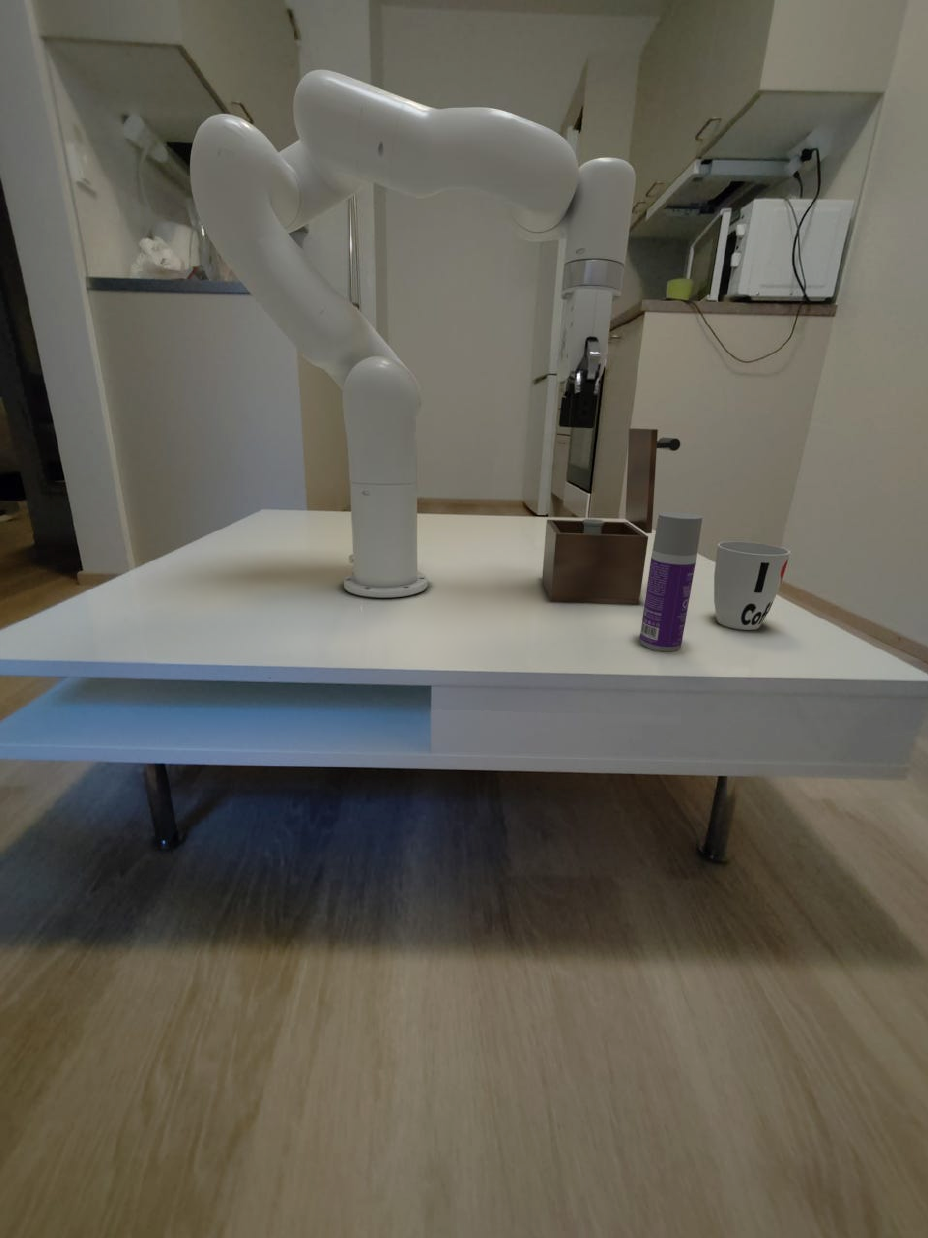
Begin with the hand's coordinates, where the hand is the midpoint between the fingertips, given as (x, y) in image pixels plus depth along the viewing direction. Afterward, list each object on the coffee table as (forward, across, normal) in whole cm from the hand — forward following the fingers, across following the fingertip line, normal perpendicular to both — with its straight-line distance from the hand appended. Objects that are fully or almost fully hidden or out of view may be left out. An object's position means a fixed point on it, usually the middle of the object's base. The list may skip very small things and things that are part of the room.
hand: (575, 427), depth 75 cm
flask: (+23, -1, +5) cm, 23 cm away
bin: (+23, -1, +5) cm, 24 cm away
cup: (+23, +12, +22) cm, 34 cm away
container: (+24, +20, +10) cm, 32 cm away
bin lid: (+6, -1, +10) cm, 12 cm away
